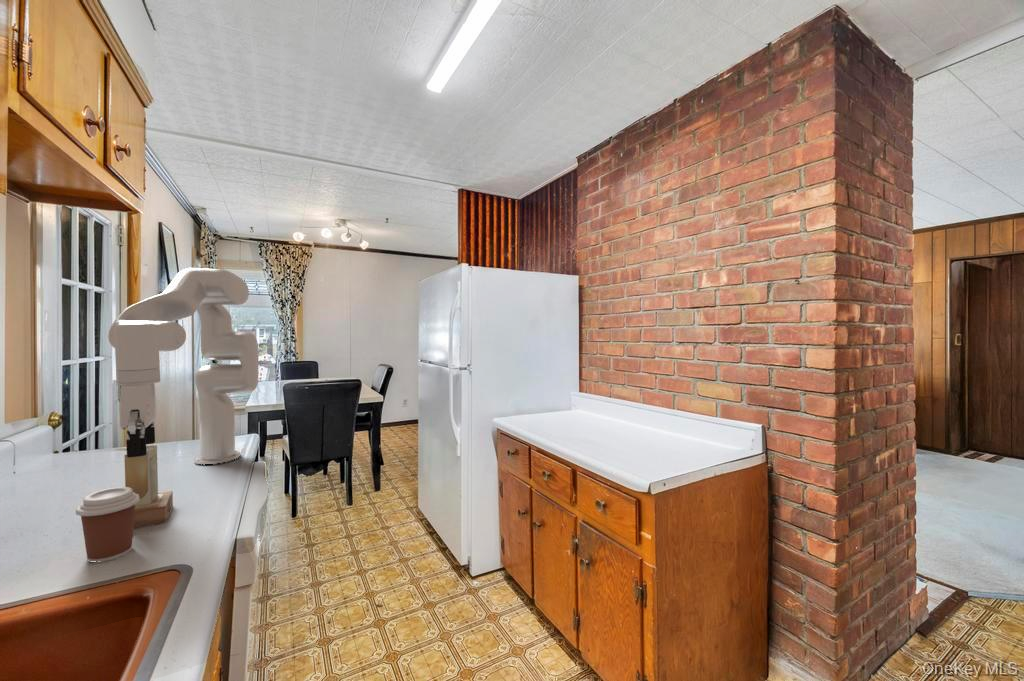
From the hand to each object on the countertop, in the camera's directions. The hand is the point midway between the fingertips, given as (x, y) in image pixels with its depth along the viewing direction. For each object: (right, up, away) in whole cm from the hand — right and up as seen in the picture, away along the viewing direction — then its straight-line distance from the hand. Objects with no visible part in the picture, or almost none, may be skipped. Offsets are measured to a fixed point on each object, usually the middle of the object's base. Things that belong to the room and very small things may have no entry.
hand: (141, 449), depth 98 cm
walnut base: (0, -16, 0) cm, 16 cm away
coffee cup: (+7, -17, -15) cm, 23 cm away
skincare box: (0, -12, 0) cm, 12 cm away
